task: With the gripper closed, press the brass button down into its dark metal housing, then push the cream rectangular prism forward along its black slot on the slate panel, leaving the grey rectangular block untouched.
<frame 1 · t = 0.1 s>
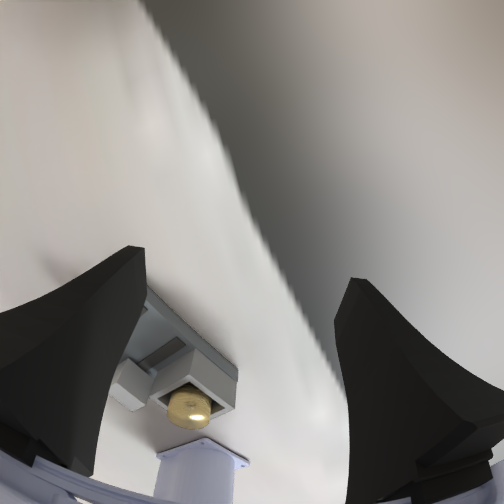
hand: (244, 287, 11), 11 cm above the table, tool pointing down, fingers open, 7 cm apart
panel board: (157, 347, 25), on the table
grey rectangular block: (129, 385, 22), point 3 cm above the table, slide at 0.0 cm
brass button: (190, 403, 21), point 4 cm above the table, slide at 0.0 cm
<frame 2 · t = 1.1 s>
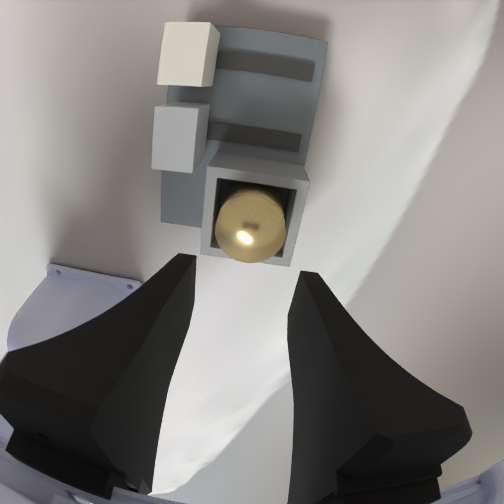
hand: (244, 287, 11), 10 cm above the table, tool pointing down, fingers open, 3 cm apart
panel board: (238, 129, 17), on the table
cream rectangular prism: (190, 55, 12), point 3 cm above the table, slide at 0.0 cm
grey rectangular block: (181, 134, 14), point 3 cm above the table, slide at 0.0 cm
brass button: (251, 218, 15), point 4 cm above the table, slide at 0.0 cm
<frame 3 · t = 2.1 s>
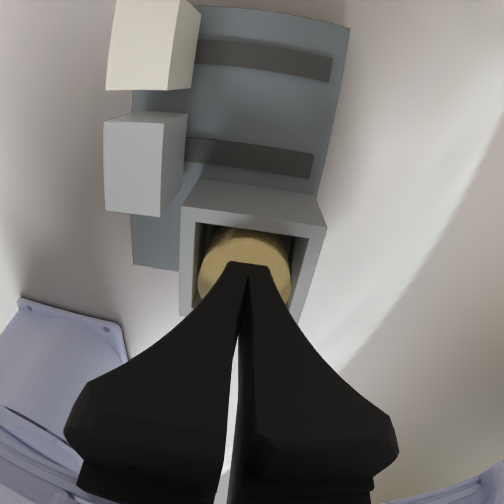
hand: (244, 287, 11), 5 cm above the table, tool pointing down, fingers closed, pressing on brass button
panel board: (228, 145, 13), on the table
cream rectangular prism: (156, 46, 8), point 3 cm above the table, slide at 0.0 cm
grey rectangular block: (147, 157, 10), point 3 cm above the table, slide at 0.0 cm
brass button: (246, 264, 12), point 4 cm above the table, slide at 0.7 cm, touching gripper
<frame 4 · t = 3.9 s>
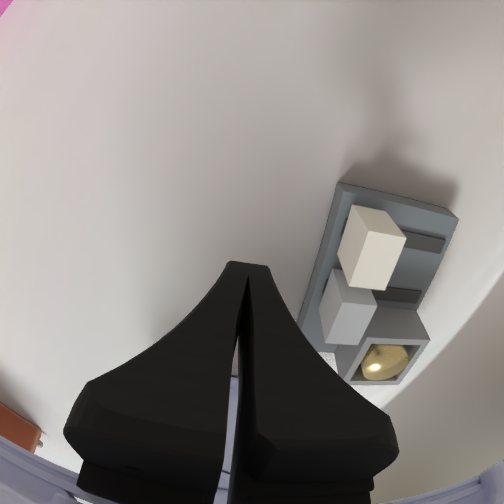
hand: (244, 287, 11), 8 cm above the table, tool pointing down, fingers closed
panel board: (369, 277, 20), on the table
cream rectangular prism: (368, 246, 15), point 3 cm above the table, slide at 0.0 cm
control panel: (17, 415, 42), on the table
grey rectangular block: (345, 307, 17), point 3 cm above the table, slide at 0.0 cm
brass button: (380, 349, 19), point 3 cm above the table, slide at 1.2 cm
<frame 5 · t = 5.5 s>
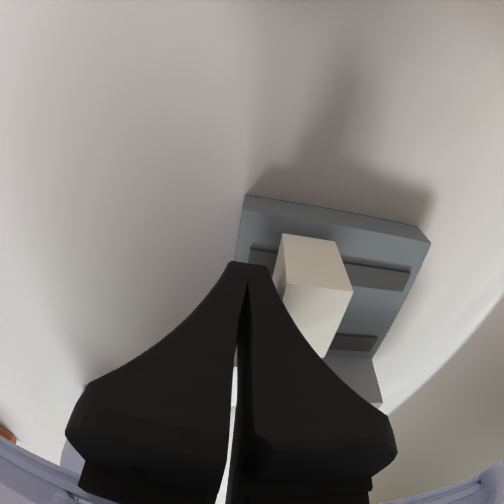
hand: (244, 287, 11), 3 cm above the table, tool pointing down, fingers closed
panel board: (306, 316, 16), on the table
cream rectangular prism: (303, 295, 11), point 3 cm above the table, slide at 1.0 cm, touching gripper
grey rectangular block: (256, 363, 13), point 3 cm above the table, slide at 0.0 cm
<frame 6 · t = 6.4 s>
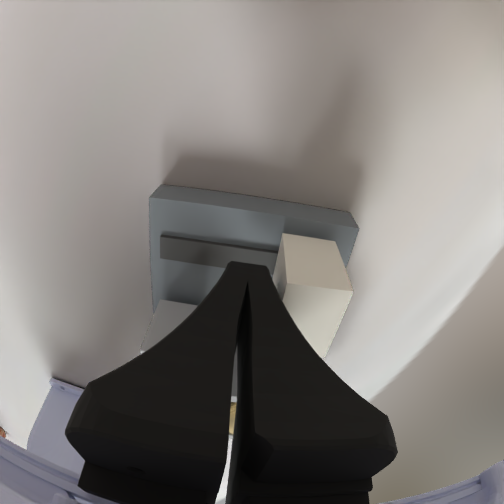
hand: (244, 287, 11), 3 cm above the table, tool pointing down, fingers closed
panel board: (238, 308, 16), on the table
cream rectangular prism: (304, 295, 11), point 3 cm above the table, slide at 4.6 cm, touching gripper
grey rectangular block: (175, 351, 13), point 3 cm above the table, slide at 0.0 cm
brass button: (255, 401, 15), point 3 cm above the table, slide at 1.2 cm
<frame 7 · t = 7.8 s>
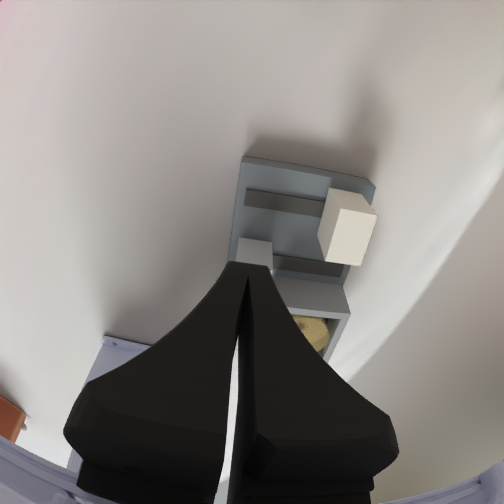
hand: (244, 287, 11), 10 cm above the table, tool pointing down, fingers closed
panel board: (289, 250, 21), on the table
cream rectangular prism: (344, 225, 16), point 3 cm above the table, slide at 4.6 cm
control panel: (3, 399, 43), on the table
grey rectangular block: (251, 274, 18), point 3 cm above the table, slide at 0.0 cm
brass button: (302, 323, 20), point 3 cm above the table, slide at 1.2 cm
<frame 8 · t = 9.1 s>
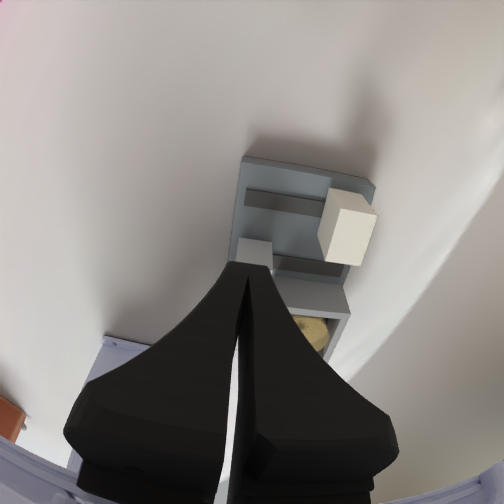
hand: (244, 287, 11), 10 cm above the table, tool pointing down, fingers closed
panel board: (289, 250, 21), on the table
cream rectangular prism: (344, 225, 16), point 3 cm above the table, slide at 4.6 cm
control panel: (3, 399, 43), on the table
grey rectangular block: (251, 274, 18), point 3 cm above the table, slide at 0.0 cm
brass button: (302, 323, 20), point 3 cm above the table, slide at 1.2 cm
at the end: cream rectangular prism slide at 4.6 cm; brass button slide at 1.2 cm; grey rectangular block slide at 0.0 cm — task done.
